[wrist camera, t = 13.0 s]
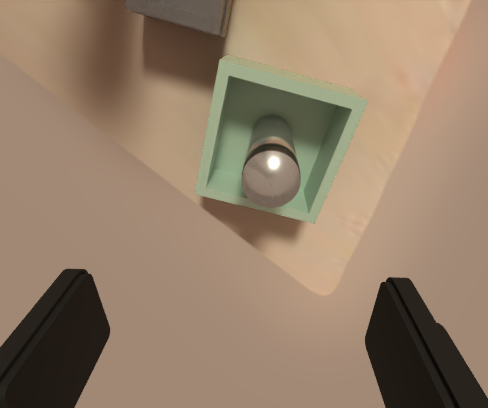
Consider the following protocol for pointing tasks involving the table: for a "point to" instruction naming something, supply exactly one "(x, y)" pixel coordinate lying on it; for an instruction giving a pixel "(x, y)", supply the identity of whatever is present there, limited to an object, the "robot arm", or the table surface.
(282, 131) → the strut
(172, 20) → the socket block
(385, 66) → the table surface
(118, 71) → the table surface
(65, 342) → the robot arm
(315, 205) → the bin
